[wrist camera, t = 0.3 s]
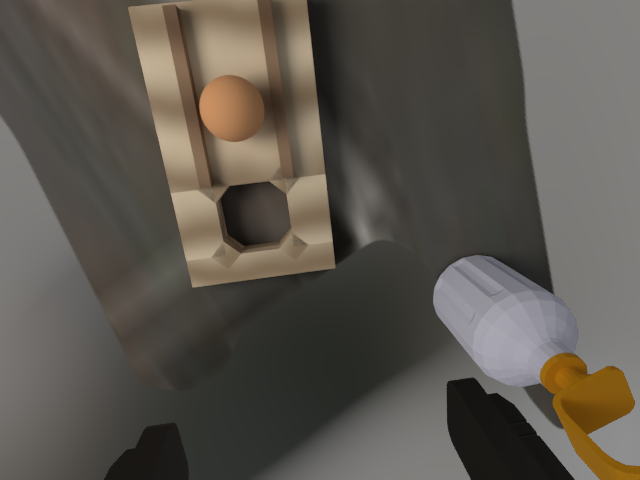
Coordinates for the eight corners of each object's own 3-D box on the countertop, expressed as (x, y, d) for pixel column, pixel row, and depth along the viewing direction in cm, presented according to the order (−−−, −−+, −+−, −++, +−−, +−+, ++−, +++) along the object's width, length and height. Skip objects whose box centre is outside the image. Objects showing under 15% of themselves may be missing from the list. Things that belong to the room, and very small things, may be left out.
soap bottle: (522, 302, 42) (811, 516, 19) (451, 341, 43) (646, 594, 20) (492, 238, 40) (784, 393, 16) (417, 281, 41) (595, 488, 17)
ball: (201, 83, 31) (185, 74, 26) (261, 76, 31) (256, 66, 26) (213, 144, 32) (200, 146, 28) (270, 137, 33) (266, 138, 28)
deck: (140, 16, 31) (121, 1, 28) (304, -1, 32) (306, -17, 29) (198, 277, 38) (189, 292, 35) (332, 259, 39) (336, 272, 36)
